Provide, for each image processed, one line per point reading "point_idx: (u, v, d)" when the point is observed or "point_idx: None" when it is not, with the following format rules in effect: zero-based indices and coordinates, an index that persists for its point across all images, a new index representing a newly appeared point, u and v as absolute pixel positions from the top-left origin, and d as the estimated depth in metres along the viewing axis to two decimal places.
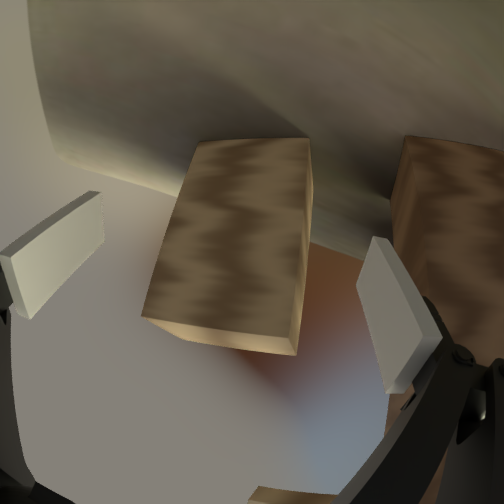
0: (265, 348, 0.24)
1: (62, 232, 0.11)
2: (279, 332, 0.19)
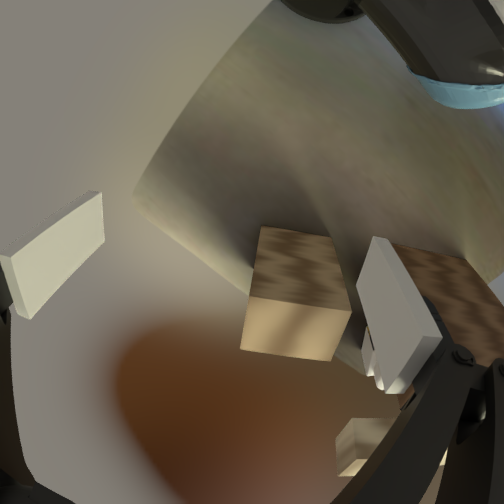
0: (316, 346, 0.34)
1: (62, 232, 0.11)
2: (346, 309, 0.31)
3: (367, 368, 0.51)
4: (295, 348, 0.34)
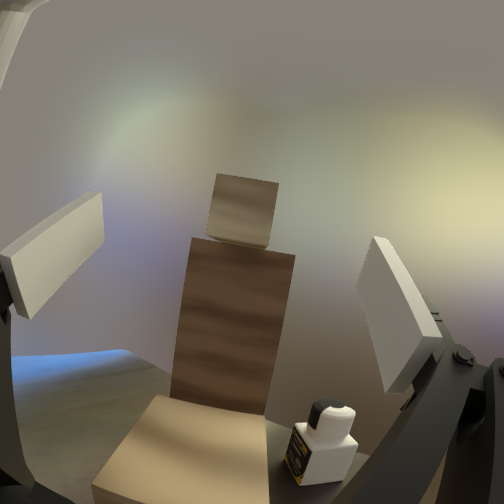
0: (229, 427, 0.17)
1: (62, 232, 0.11)
2: None
3: (347, 449, 0.32)
4: (241, 448, 0.15)
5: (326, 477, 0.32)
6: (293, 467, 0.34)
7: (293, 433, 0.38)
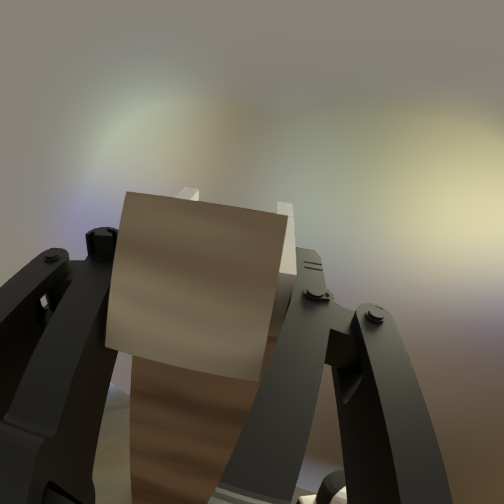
0: None
1: None
2: None
3: None
4: None
5: None
6: None
7: None
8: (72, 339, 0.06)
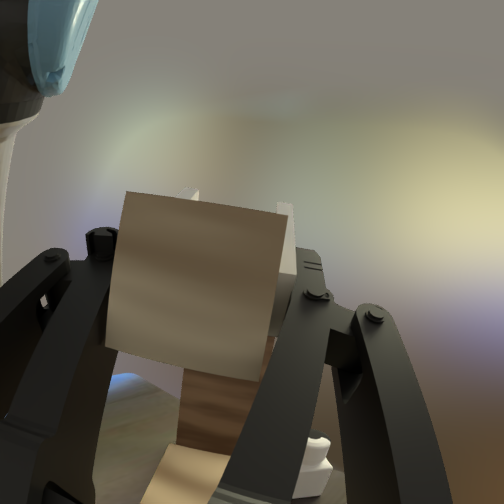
0: (222, 468, 0.23)
1: None
2: None
3: (323, 471, 0.38)
4: None
5: (306, 493, 0.37)
6: None
7: None
8: (72, 339, 0.06)
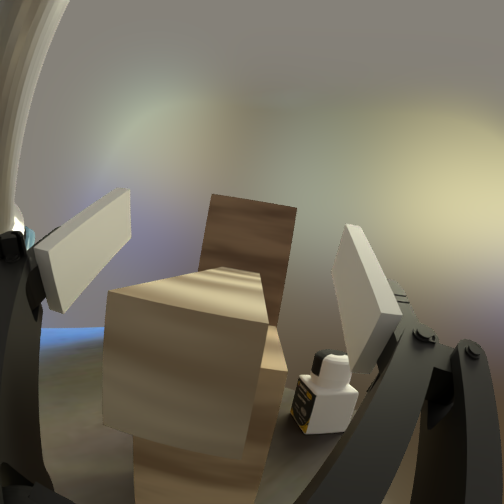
0: None
1: (95, 227, 0.11)
2: None
3: (348, 396, 0.38)
4: None
5: (330, 426, 0.38)
6: (299, 417, 0.40)
7: (298, 384, 0.43)
8: None
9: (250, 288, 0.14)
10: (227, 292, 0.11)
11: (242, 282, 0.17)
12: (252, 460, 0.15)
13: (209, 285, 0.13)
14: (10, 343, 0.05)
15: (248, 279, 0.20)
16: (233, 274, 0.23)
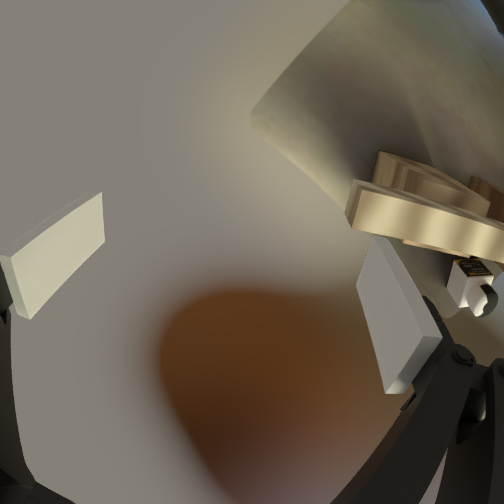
0: None
1: (62, 232, 0.11)
2: (486, 200, 0.29)
3: (459, 299, 0.49)
4: None
5: (452, 278, 0.53)
6: (467, 261, 0.51)
7: (488, 272, 0.47)
8: None
9: (418, 237, 0.28)
10: (396, 224, 0.28)
11: (439, 237, 0.28)
12: None
13: (408, 218, 0.27)
14: None
15: (460, 244, 0.28)
16: (479, 239, 0.27)
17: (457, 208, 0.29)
